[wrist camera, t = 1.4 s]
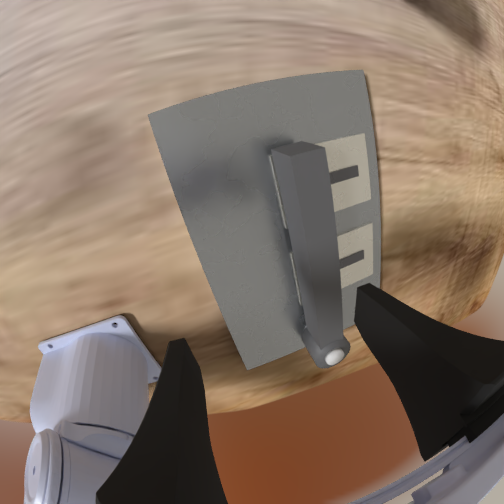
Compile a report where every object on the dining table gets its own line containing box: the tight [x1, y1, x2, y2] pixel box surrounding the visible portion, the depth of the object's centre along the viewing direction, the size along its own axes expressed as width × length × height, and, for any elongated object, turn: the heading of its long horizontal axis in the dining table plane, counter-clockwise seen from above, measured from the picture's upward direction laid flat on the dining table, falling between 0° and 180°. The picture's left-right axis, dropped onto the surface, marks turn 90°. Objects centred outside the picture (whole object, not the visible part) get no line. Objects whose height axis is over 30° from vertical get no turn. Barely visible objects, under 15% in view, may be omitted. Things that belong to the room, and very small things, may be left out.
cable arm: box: [271, 141, 350, 368], centre depth 19 cm, size 3×18×3 cm, turn 14°
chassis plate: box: [148, 70, 381, 370], centre depth 20 cm, size 14×22×1 cm, turn 14°
